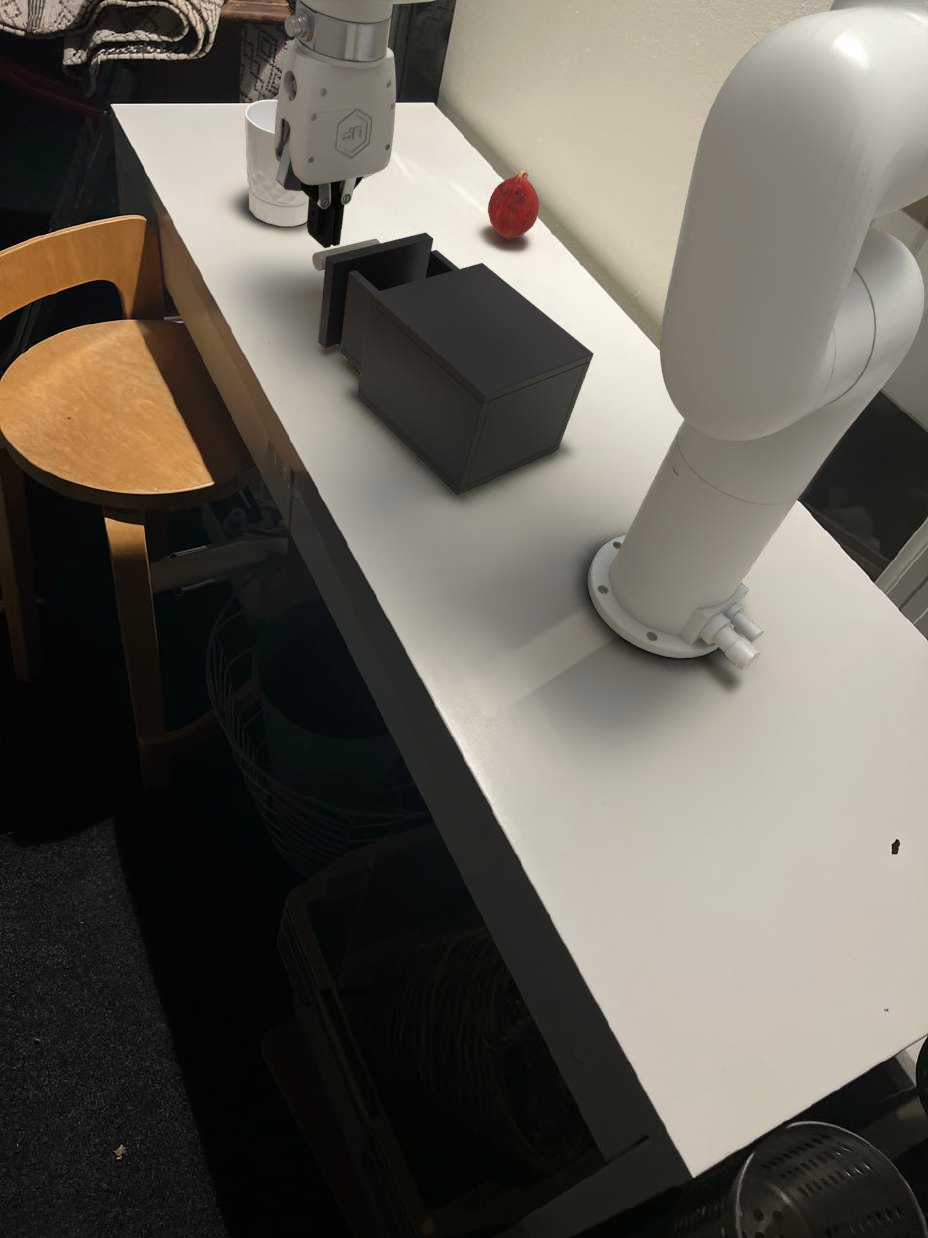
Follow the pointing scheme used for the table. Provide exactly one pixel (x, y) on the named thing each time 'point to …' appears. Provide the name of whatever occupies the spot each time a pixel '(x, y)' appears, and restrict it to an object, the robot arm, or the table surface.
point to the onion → (513, 206)
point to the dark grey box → (469, 374)
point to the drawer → (368, 284)
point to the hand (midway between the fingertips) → (323, 238)
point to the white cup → (269, 171)
